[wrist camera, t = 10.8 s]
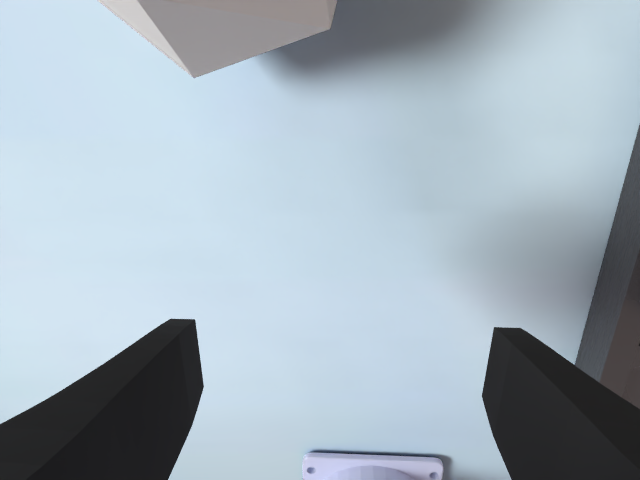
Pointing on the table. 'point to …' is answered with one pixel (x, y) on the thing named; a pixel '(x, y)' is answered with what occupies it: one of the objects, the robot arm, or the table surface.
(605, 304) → the rail
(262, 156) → the table surface
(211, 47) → the die
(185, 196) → the table surface
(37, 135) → the table surface
